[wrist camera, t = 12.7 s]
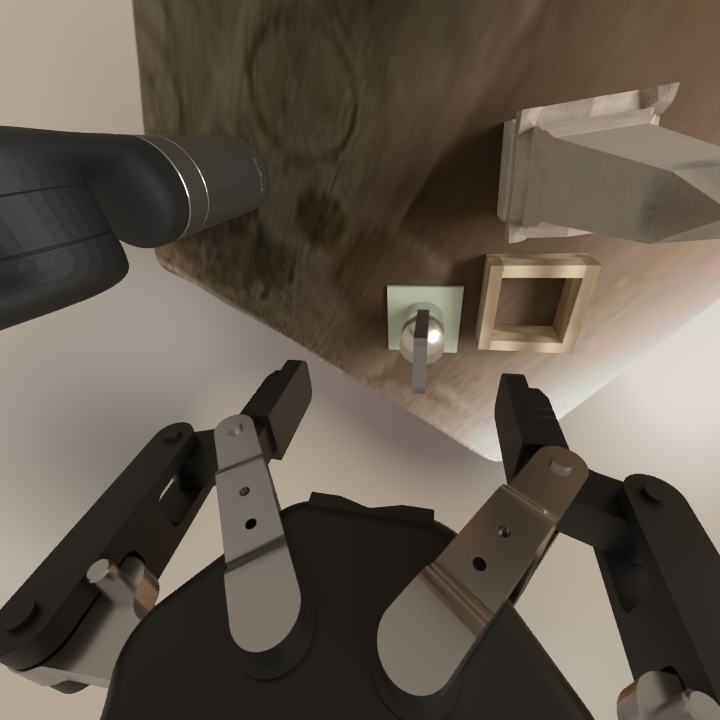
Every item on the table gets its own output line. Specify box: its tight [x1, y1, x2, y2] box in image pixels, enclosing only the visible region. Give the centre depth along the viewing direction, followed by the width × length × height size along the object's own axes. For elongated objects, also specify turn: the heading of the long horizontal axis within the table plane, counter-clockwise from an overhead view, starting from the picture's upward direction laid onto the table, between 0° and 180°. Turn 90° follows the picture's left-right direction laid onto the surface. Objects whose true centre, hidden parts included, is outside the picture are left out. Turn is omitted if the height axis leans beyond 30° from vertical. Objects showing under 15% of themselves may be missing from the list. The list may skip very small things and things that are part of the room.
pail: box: [399, 302, 444, 394], centre depth 45 cm, size 6×8×13 cm
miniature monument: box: [497, 82, 720, 244], centre depth 25 cm, size 10×10×30 cm
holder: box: [475, 253, 602, 354], centre depth 44 cm, size 12×12×5 cm
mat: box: [387, 285, 464, 353], centre depth 51 cm, size 11×11×1 cm
